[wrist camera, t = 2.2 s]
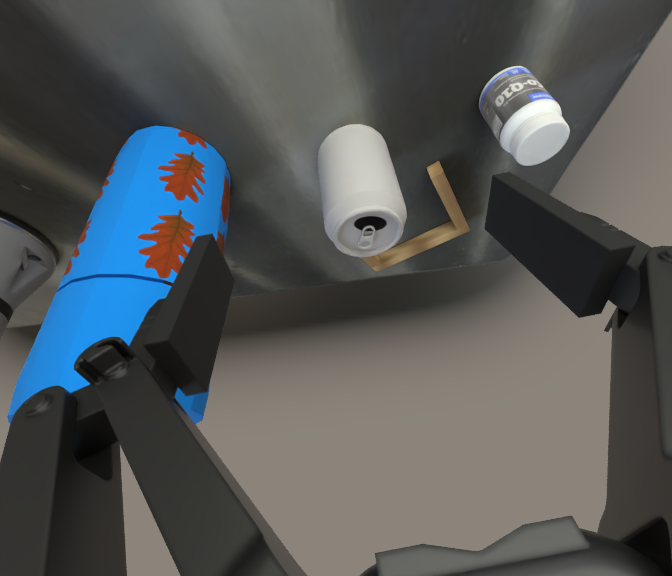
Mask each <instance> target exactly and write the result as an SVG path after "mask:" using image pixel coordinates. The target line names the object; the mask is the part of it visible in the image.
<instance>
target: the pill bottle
mask: <svg viewBox="0 0 672 576" xmlns="http://www.w3.org/2000/svg"><path fill="white" fill-rule="evenodd" d="M479 109H480V112H481V114H482V115H483V117H484V119H485V120H486V122H487V123H488V125H489V127H490V128H491V130H492V132H493V133H494V135H495V137H496V138H497V140H498V141H499V143H500V145H501V147H502V148H503V149H504V150H505V151H507V152H509V153H512V155H513V156H514V158H515V159H516V161H517V162H518V163H519V164H521V165H525V166H530V165H535V164H539V163H541V162H544V161H545V160H547V159H549V158H551V157H552V156H553V155H555V154H556V153H557V152H558V151H559V150H560V149H561V148H562V147H563V146H564V144H565V143H566V141H567V139H568V137H569V133H570V129H569V126H568V125H567V123H566V122H565V121H564V119H563V118H562V117H561V115H562V114H561V108H560V106H559V104H558V103H557V102H556V101H555V100H554V99H553V98H552V96H551V95H550V94H549V93H548V92H547V91H546V89H545V88H544V87H543V86H542V85H541V84H540V83H539V82H538V80H537V79H536V78H535V77H534V75H533V74H532V73H531V72H530V71H529V70H528V69H526V68H524V67H522V66H514V67H509V68H507V69H504V70H502V71H501V72H499V73H498V74H496V75H495V76H493V77H492V79H491V80H490V81H489V82H488V83H487V84H486V86H485V87H484V89H483V91H482V93H481V95H480V99H479Z"/></svg>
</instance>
